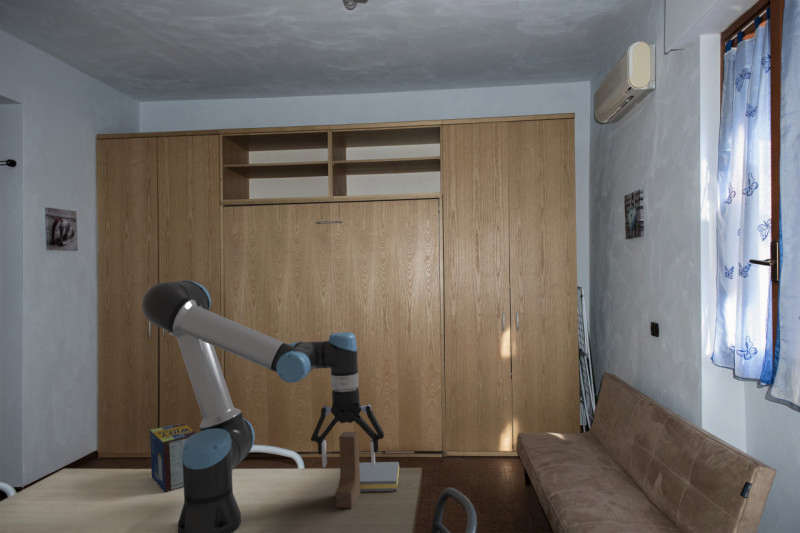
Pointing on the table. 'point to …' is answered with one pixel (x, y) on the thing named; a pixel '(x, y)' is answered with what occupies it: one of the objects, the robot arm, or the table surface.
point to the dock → (378, 476)
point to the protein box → (168, 455)
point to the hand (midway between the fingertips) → (349, 464)
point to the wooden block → (348, 470)
